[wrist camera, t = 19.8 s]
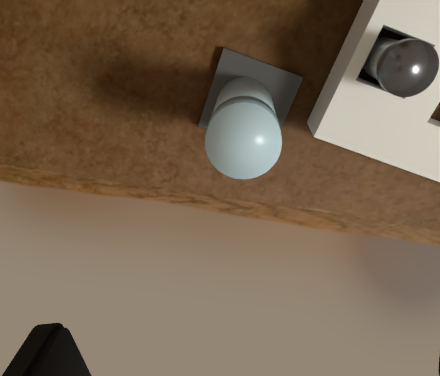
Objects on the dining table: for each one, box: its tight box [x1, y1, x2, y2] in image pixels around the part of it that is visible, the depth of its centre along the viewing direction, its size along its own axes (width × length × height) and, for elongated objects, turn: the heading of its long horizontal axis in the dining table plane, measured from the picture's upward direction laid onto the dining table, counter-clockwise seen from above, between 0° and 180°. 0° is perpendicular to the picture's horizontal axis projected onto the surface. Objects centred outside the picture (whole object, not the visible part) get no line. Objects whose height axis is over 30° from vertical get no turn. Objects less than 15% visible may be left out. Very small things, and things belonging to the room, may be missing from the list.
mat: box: [198, 47, 303, 130], centre depth 33 cm, size 7×7×1 cm
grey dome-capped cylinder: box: [363, 37, 439, 97], centre depth 27 cm, size 4×4×6 cm
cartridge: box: [205, 77, 282, 179], centre depth 28 cm, size 5×5×10 cm
